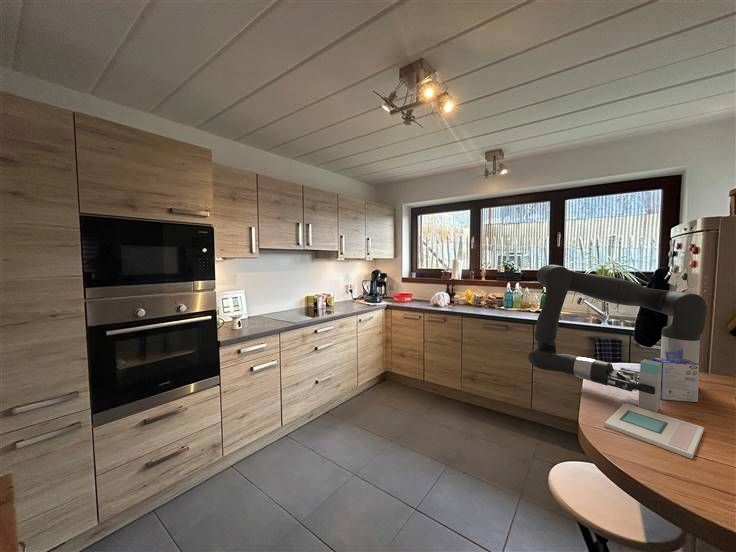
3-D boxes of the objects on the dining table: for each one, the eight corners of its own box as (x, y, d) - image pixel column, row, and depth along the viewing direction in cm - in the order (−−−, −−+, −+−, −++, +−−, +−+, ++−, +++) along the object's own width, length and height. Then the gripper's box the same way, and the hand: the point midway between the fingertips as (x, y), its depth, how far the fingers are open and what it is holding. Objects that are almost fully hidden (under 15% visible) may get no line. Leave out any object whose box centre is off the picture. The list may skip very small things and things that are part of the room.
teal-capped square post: (641, 402, 91) (644, 359, 91) (659, 408, 88) (662, 362, 87) (638, 406, 89) (640, 361, 88) (656, 412, 86) (658, 365, 85)
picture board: (624, 406, 89) (624, 402, 89) (703, 431, 76) (704, 427, 76) (604, 426, 79) (604, 422, 79) (692, 458, 66) (692, 454, 66)
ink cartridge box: (684, 394, 97) (686, 351, 96) (699, 402, 91) (702, 357, 90) (649, 392, 99) (651, 350, 98) (662, 400, 93) (664, 355, 92)
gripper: (585, 364, 95) (653, 380, 82) (600, 355, 104) (664, 369, 91) (584, 386, 96) (652, 406, 83) (599, 376, 104) (663, 392, 91)
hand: (658, 387), depth 87 cm, fingers open, 8 cm apart
